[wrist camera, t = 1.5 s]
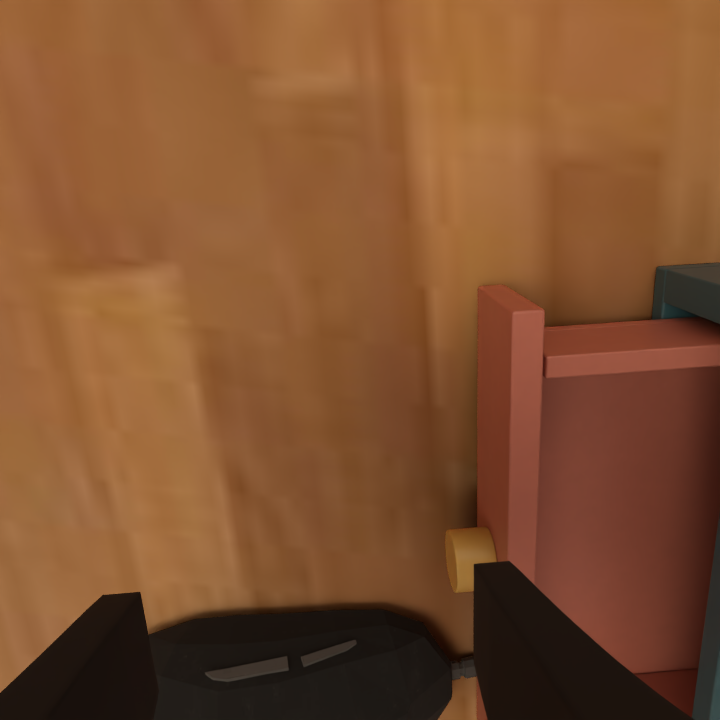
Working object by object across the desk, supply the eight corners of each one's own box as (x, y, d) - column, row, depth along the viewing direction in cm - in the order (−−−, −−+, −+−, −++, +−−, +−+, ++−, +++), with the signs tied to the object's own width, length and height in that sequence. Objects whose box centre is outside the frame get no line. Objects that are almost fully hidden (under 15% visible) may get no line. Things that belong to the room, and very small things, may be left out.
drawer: (764, 688, 23) (838, 774, 20) (443, 719, 22) (464, 812, 19) (840, 262, 18) (954, 281, 15) (435, 288, 18) (461, 314, 14)
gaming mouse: (524, 719, 23) (564, 826, 20) (131, 760, 23) (94, 878, 19) (527, 579, 22) (571, 667, 18) (99, 620, 21) (50, 719, 17)
